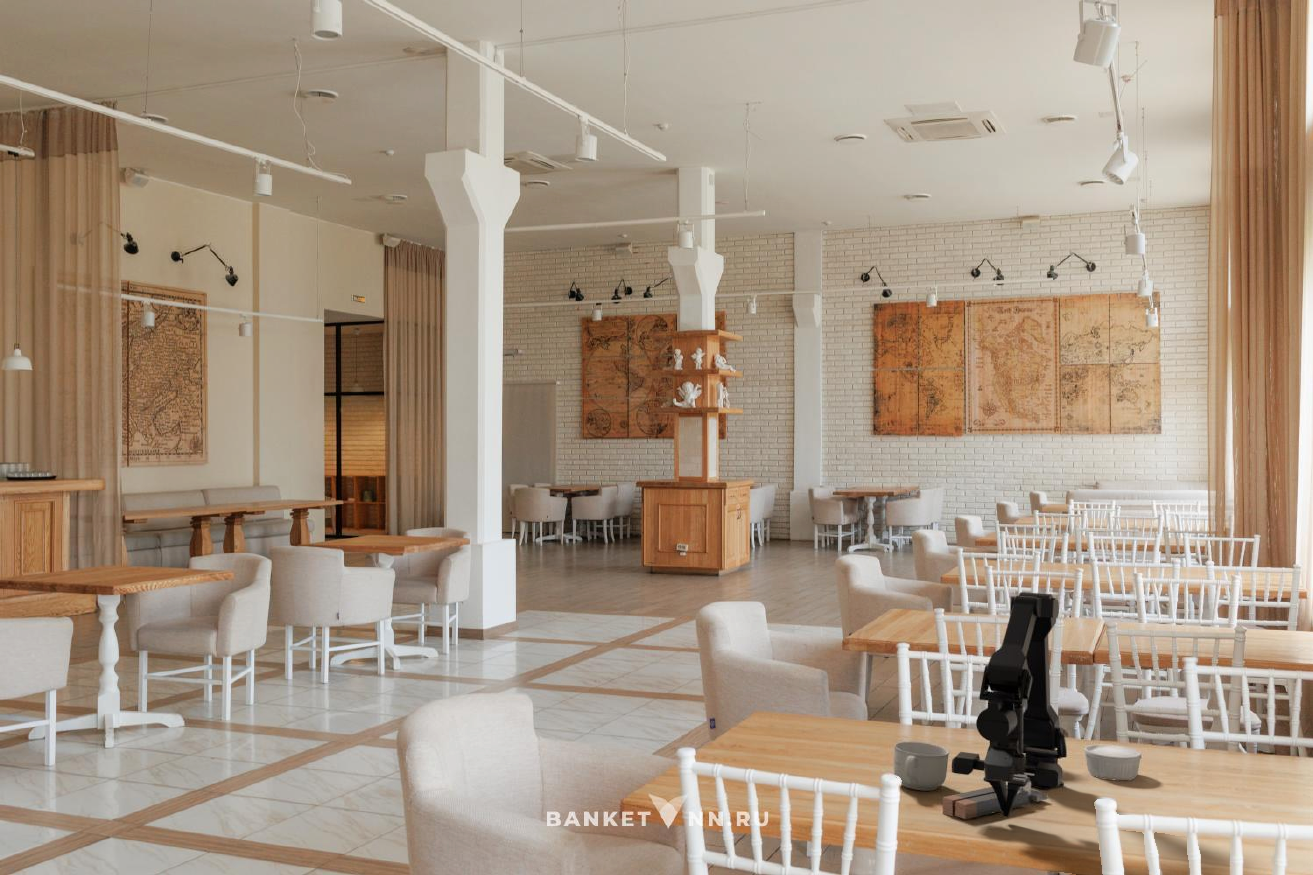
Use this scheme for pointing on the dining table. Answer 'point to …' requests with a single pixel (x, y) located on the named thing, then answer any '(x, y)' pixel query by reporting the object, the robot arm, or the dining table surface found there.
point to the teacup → (920, 765)
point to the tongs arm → (986, 804)
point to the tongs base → (950, 800)
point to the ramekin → (1112, 761)
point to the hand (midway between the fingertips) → (1006, 816)
